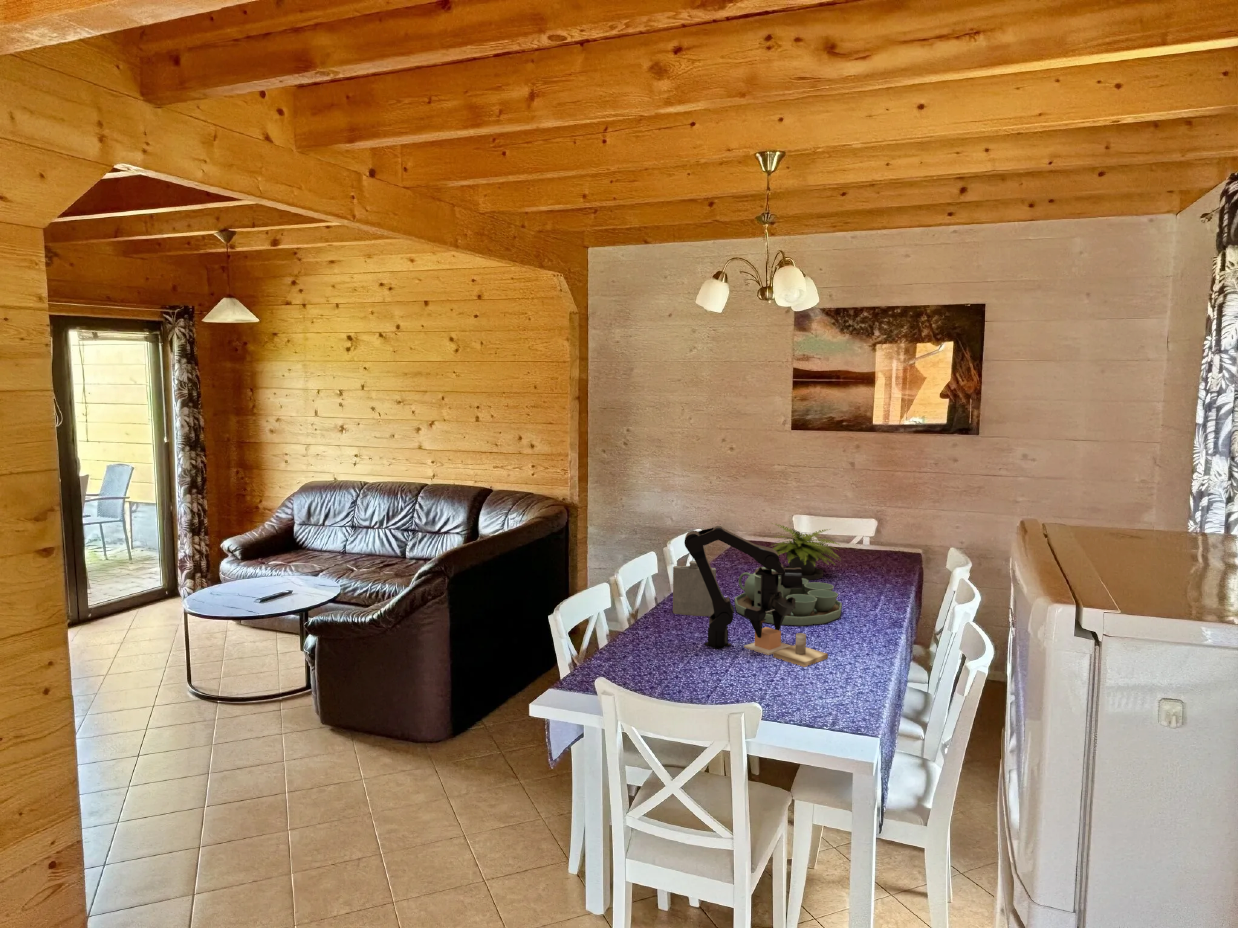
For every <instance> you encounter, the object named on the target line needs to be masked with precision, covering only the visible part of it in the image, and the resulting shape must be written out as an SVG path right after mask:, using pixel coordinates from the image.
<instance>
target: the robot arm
mask: <svg viewBox="0 0 1238 928" xmlns="http://www.w3.org/2000/svg"><path fill="white" fill-rule="evenodd" d="M717 541H720V542H722V543H724V544H725V545H728V546H730V547H732V548H733V549H736V550H738V551H739V552H742V553H743V554H746V555H748V556H749V557H751V558H752V559H753V560H755V561H756V563H758V564H759V567H758V569H757V568H756V569H757V570H756V569H755V570H754V573H755V574H756V575H761V588H760V590H758V594H760V602H759V603H757V606H760V607H761V608H758V607H754V606H752V607H749V608H746V609H745V610H744V615H743V617H745V618H746V619H748V621H749V622H750V624H751V626H752V627H753V629H754V633H755V632H756V634H757V637H758V638H761V635H762V628H763V625H764V624H763V623H765V622H764V621H765V620H766V619H764V618H765V616H766V613H767V612H771V611H772V615H773V621H774V624H773V626H774V629H776V630H779V631H781V627H782V626H783V625H782V622H783V619H784V617H785V616H786V615H787V614H791V612H792V610H793V609H795V608H796V607H795V605H796V602H795V598H793V597H790V598H788V599H787V598H783V597H782V593H781V591H778V580H779V575H780V585H783V587H784V589H802V574H801V568H784V567H785V566H784V564H783V563H782V562H781V561H780V555H778V552H776V551H775V550H774V549H772V548H773V547H772V548H771V547H769V546H766V545H765V546H764V545H760V544H756V543H753V542H751V541H749V540H747V539H745V538H743V537H742V536H739V535H737V534H735V533H733V532H731V531H730V530H728V529H726V528H724V527H723V526H722V525H715V526H714V527H710V528H706V529H702V530H698V531H697V530H693V529H692V530H690V531H688V532H687V533H686V534H685V537H684V546H685V548H686V550H687V552H688V553H689V554H690V556H691V558H692V559H693V561H696V563H697V566H698V568H699V570H700V573H701V575H702V578H703V580H704V582H705V585H706V587H707V590H708V592H709V594H710V597H711V599H712V604H713V609H714V613H713V614H712V615H711V616H708V627H707V642H704V646H706V647H709V648H712V649H715V650H721V649H722V650H723V649H725V648H728V647H730V646H732V643H730V642H729V630H728V629H729V627H728V626H729V625H730V624H731V623H732V622H733V621H734V614H735V607H734V606H733V604H732V603H731V599H730V596H727V597H725V596H724V595H723V593H722V590H721V587H720V586H719V584H718V581H717V577H716V578H715V576H714V574H713V571H712V569H711V568H712V566H711V565H710V562H709V559H708V557H707V554H706V548H705V546H707V545H709V544H711V543H714V542H717ZM760 565H761V566H760ZM762 567H765V568H767V569H763V568H762ZM772 569H773V570H775V571H776V572H775V571H772ZM766 609H767V610H766Z"/></svg>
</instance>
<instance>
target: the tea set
mask: <svg viewBox="0 0 1238 928" xmlns="http://www.w3.org/2000/svg"><path fill="white" fill-rule="evenodd" d="M761 567H762V568H763V569H767V568H765V567H764V566H761ZM758 568H759V567H758ZM758 568H755V570H757V569H758ZM772 571H775V570H773V569H772ZM775 572H776V571H775ZM744 576H747V578H746V579H745V581H744V585H743V584H742V579H743V577H744ZM738 586H739V588H740V589H741V590H742V591H743V593H741V594H738V595H737V596H735V597H734V606H735V610H736V612H737V613H738V614H739V615H742V616H744V610H745V609H746V608H749V607H752V606H754V607H758V608H761V607H760V606H757V603H759V602H760V594H758V590H760V588H761V575H756V574H755V572H754V573H750V572H748V571H747V572H743V573H741V574H740V576H739V577H738ZM834 589H835V587H834V585H833V584H832V583H826V582H819V581H817V582H815V581H813V582H812V581H811V582H810V580H807V579H803V578H802V589H784V587H783V585H780V575H779V580H778V591H781V593H782V597H783V598H787V599H788V598H790V597H793V598H795V602H796V605H795V607H796V608H795V609H793V610H792V612H791V614H787V615H786V616H785V617H784V619H783V622H782V625H781V626H801V627H802V626H812V625H813V624H814V625H822V624H827V623H830V622H832V621H835V620H838V619H840V617H841V613H842V608H843V603H842V602H841V601H840V600H837V598H838V596H839V593H837V592H836V591H833V590H834ZM766 610H767V609H766ZM764 619H766V620H765V621H764V622H763V623H767V624H772V625H774V621H773V615H772V611H771V612H767V613H766V616H765V618H764ZM814 625H813V626H814Z"/></svg>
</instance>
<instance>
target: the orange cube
mask: <svg viewBox="0 0 1238 928" xmlns="http://www.w3.org/2000/svg"><path fill="white" fill-rule="evenodd" d="M754 642H755V646H758V647H761V648H764V649H768V650H771V649H774V648H776V647H779V646H781V642H782V631H781V630H776V629H775V628H772V627H768V626H766V627H762V635H761V638H758V637H757V634H756V632H755V631H754Z"/></svg>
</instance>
